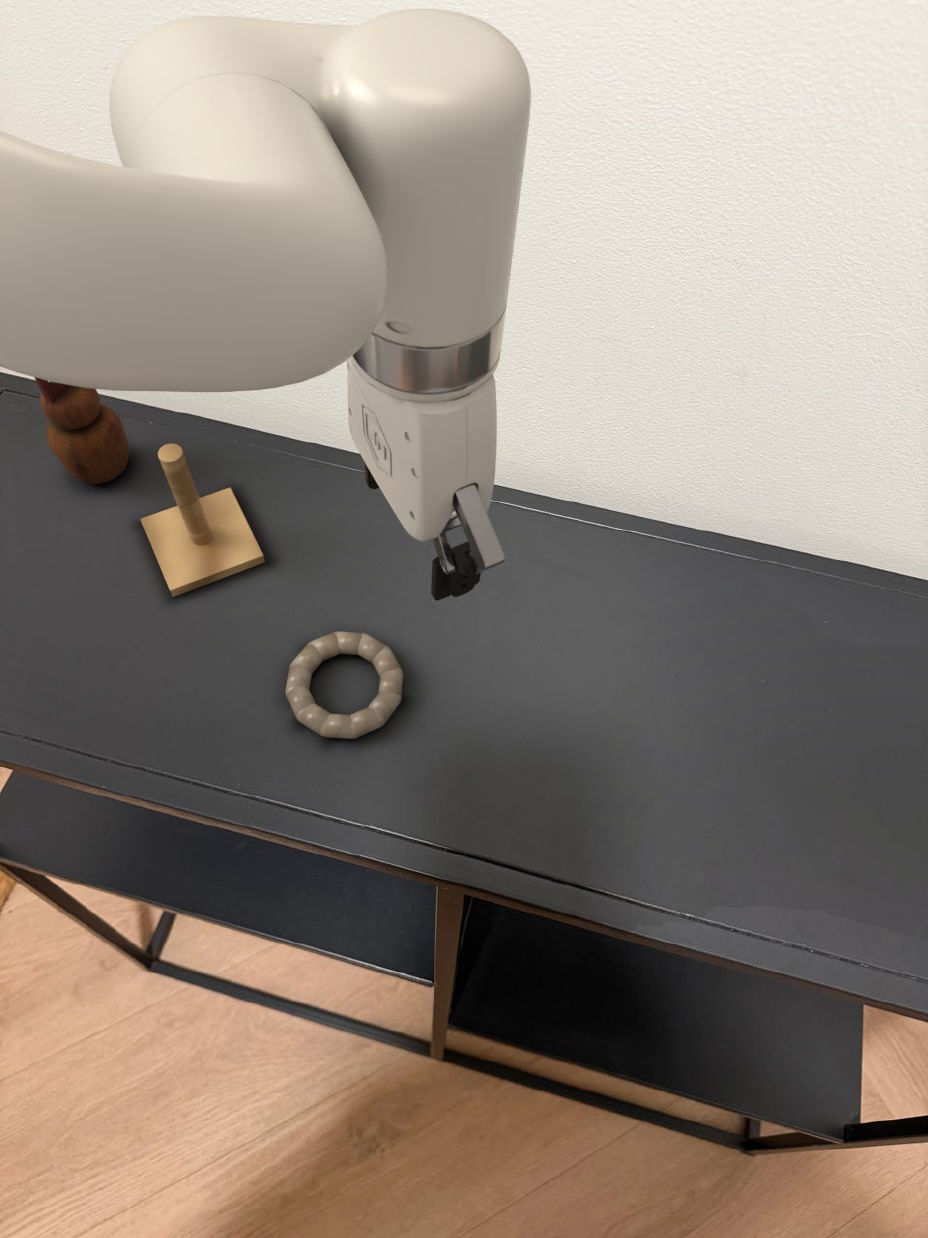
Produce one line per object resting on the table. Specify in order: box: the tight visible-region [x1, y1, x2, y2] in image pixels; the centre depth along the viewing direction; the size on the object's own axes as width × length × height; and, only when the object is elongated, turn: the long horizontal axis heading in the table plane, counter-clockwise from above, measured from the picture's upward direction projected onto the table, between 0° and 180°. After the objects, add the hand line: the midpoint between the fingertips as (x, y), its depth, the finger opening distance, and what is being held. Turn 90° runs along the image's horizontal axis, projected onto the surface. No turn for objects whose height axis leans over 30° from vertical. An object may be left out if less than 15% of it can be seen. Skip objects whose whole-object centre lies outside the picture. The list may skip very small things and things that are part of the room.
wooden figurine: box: [33, 377, 130, 485], centre depth 78 cm, size 7×6×15 cm
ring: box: [285, 630, 404, 740], centre depth 73 cm, size 10×10×2 cm
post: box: [140, 443, 266, 598], centre depth 75 cm, size 9×9×13 cm
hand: (420, 532), depth 55 cm, fingers open, 9 cm apart
